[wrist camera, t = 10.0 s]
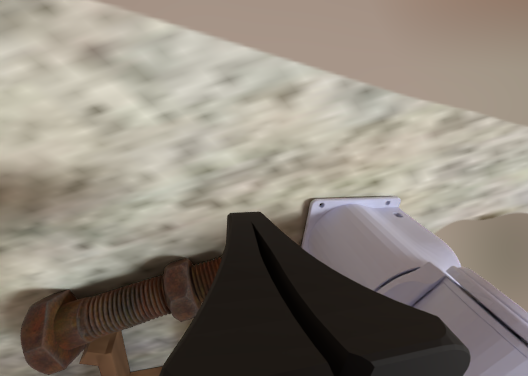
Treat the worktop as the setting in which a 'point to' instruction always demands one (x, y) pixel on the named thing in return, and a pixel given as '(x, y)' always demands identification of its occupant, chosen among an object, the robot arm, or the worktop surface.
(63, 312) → the bolt
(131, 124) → the worktop surface
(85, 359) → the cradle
